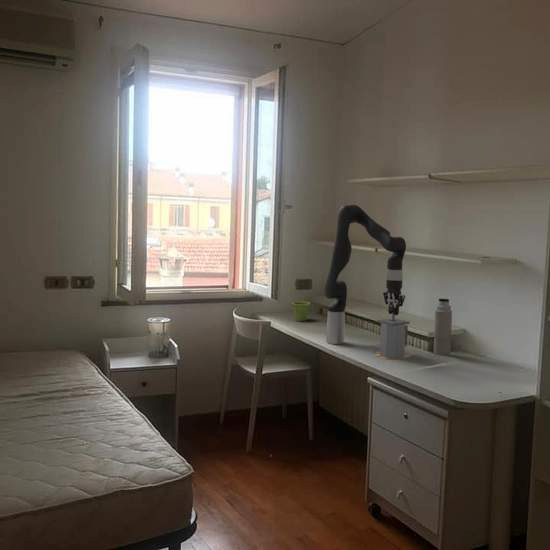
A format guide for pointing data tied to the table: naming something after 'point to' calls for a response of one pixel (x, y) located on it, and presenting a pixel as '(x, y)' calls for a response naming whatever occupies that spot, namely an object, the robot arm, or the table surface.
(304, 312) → the plant pot
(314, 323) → the table surface
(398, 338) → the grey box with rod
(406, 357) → the trivet
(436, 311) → the thermos bottle
